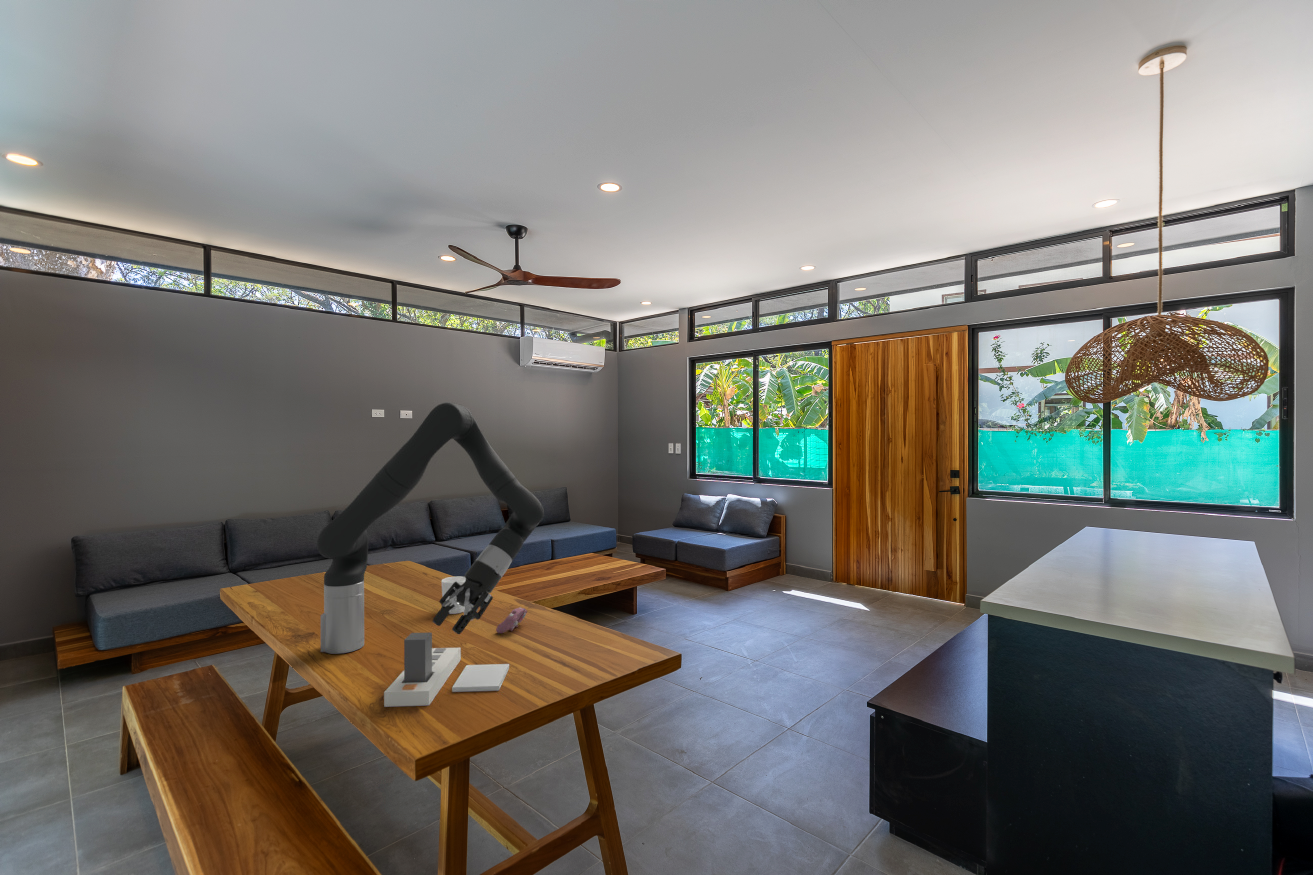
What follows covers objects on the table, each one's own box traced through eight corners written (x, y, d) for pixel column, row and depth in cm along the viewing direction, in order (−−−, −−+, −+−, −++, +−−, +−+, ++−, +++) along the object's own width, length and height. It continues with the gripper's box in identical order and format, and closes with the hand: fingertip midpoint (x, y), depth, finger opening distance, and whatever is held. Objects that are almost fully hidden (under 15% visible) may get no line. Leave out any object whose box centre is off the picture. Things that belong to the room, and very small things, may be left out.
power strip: (384, 706, 118) (384, 690, 118) (423, 660, 142) (423, 646, 142) (429, 705, 119) (429, 688, 119) (460, 659, 143) (460, 645, 143)
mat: (452, 691, 125) (452, 687, 125) (466, 669, 137) (466, 664, 137) (498, 690, 126) (498, 685, 126) (509, 668, 138) (509, 663, 138)
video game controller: (507, 640, 161) (517, 618, 160) (493, 631, 161) (504, 610, 161) (522, 628, 170) (532, 608, 170) (509, 620, 171) (519, 600, 170)
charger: (404, 695, 123) (404, 640, 123) (411, 686, 128) (411, 632, 128) (425, 695, 124) (425, 639, 123) (432, 686, 128) (431, 632, 128)
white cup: (452, 616, 176) (452, 583, 176) (436, 612, 181) (436, 580, 181) (473, 609, 183) (473, 578, 183) (456, 605, 187) (456, 575, 187)
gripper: (462, 555, 142) (418, 612, 133) (496, 563, 132) (451, 626, 124) (481, 572, 146) (439, 629, 137) (516, 582, 137) (473, 643, 128)
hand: (445, 628), depth 130 cm, fingers open, 8 cm apart
